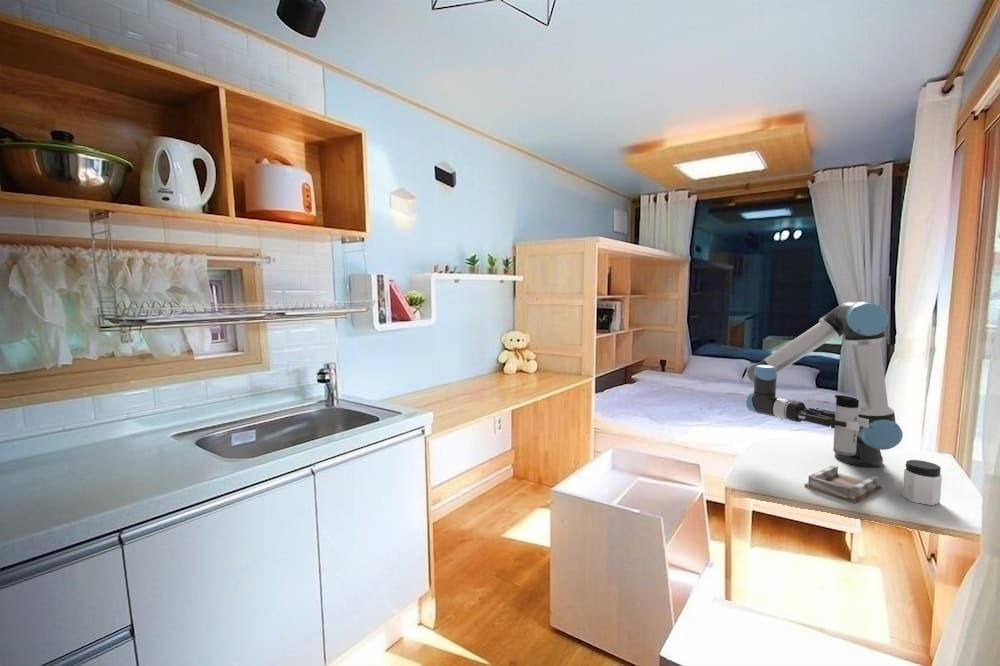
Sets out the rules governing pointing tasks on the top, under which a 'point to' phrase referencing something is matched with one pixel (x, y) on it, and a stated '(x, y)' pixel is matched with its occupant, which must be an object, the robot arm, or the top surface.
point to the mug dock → (842, 485)
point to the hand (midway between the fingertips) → (863, 425)
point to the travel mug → (845, 437)
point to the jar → (922, 482)
